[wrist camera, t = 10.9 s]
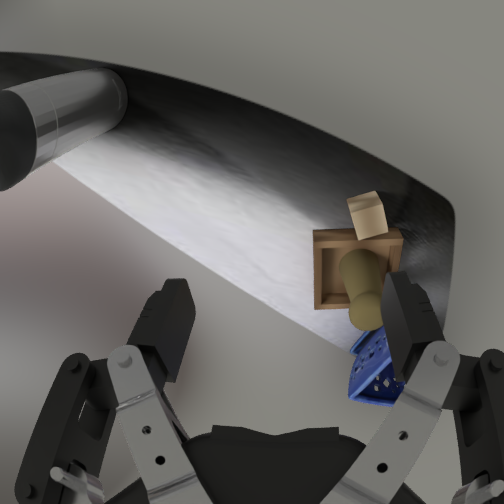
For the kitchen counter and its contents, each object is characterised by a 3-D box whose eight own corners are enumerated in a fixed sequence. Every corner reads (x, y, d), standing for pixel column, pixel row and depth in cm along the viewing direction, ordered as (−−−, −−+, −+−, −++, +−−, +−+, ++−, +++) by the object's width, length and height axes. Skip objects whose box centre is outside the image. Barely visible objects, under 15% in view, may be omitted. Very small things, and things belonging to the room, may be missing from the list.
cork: (383, 251, 41) (403, 305, 32) (372, 284, 45) (385, 339, 36) (344, 245, 42) (354, 300, 33) (334, 279, 45) (340, 336, 36)
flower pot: (340, 346, 54) (344, 401, 45) (379, 298, 47) (392, 357, 37) (395, 359, 55) (404, 409, 46) (435, 316, 48) (454, 369, 38)
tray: (313, 296, 48) (314, 309, 46) (312, 229, 41) (313, 241, 39) (387, 292, 46) (391, 305, 44) (397, 227, 39) (403, 238, 37)
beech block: (353, 224, 40) (358, 240, 37) (346, 198, 38) (350, 212, 35) (381, 216, 39) (388, 231, 36) (375, 190, 37) (382, 203, 34)
